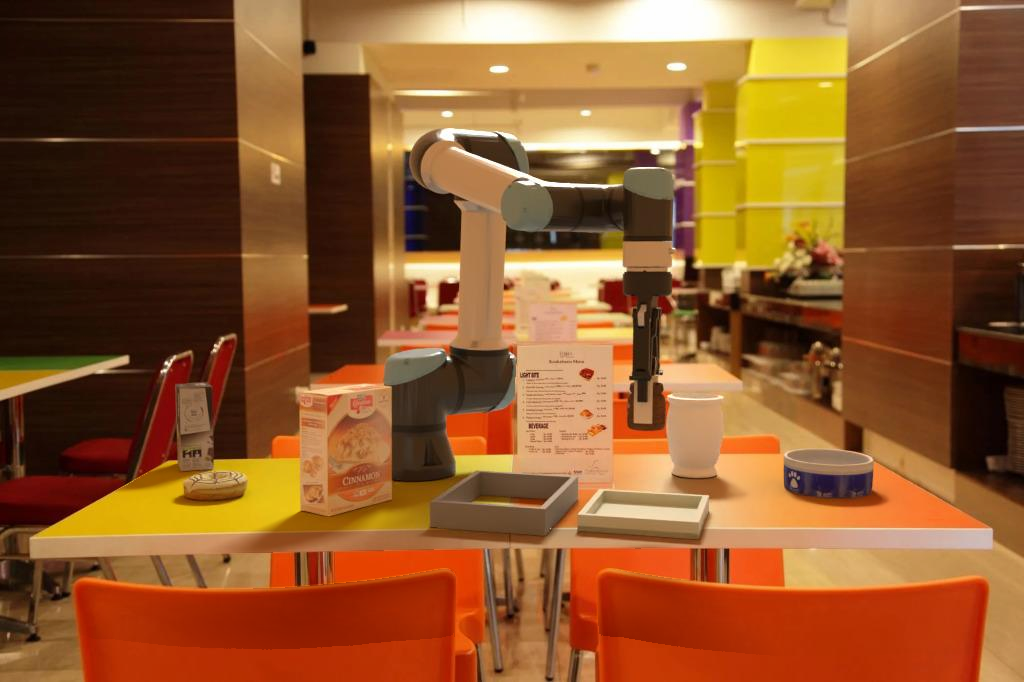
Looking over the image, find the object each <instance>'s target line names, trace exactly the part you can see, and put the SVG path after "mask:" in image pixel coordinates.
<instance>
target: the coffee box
mask: <svg viewBox="0 0 1024 682" xmlns="http://www.w3.org/2000/svg"><path fill="white" fill-rule="evenodd" d="M174 385H175V387H174V388H175V415H176V416H175V421H176V444H177V445H176V447H177V448H176V449H177V450H176V451H177V453H176V454H177V455H176V456H177V465H178V467H179V469H180V471H181V472H189V471H204V470H205V471H206V470H209V471H210V470H213V469H215V466H214V465H215V464H214V463H215V462H214V461H215V459H214V458H215V457H214V454H215V453H214V405H213V404H214V403H213V402H214V401H213V399H214V397H213V396H214V395H213V392H214V391H213V388H214V387H213V386H212V385H211V384H210V383H209V382H206V381H205V382H204V381H203V382H189V383H188V382H187V383H175V384H174Z"/></svg>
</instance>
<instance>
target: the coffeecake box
mask: <svg viewBox="0 0 1024 682" xmlns="http://www.w3.org/2000/svg"><path fill="white" fill-rule="evenodd" d="M298 396H299V405H298V406H299V484H300V486H299V489H300V490H299V491H300V492H299V494H300V496H299V498H300V499H299V501H300V503H299V504H300V511H301V512H302V511H303V512H308V513H311V514H315V515H320V516H324V517H333V516H336V515H339V514H340V515H341V514H343V513H346V512H351V511H355V510H358V509H363V508H366V507H370V506H375V505H377V504H381V503H384V502H388V501H389V502H390V501H392V500H393V480H392V387H390V386H384V384H383V385H382V384H373V383H372V384H371V383H361V384H353V385H343V386H338V387H337V386H336V387H327V388H322V389H313V390H306V391H299V392H298Z"/></svg>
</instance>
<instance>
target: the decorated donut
mask: <svg viewBox="0 0 1024 682" xmlns="http://www.w3.org/2000/svg"><path fill="white" fill-rule="evenodd" d="M182 485H183V495H184V497H185V498H186V499H190V500H197V501H203V502H204V501H210V502H211V501H215V500H216V501H224V500H230V499H236V498H240V497H242V495H244V493H245V492H246V491H247V488H248V486H249V482H248V478H247V476H246V475H245V474H244V473H241V472H238V471H235V470H213V471H205V472H201V473H196V474H194V475H192V476H190V477H188V478H186V479H184V481H183V483H182Z"/></svg>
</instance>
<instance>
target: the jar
mask: <svg viewBox="0 0 1024 682" xmlns="http://www.w3.org/2000/svg"><path fill="white" fill-rule="evenodd" d="M724 398H725V397H724V396H723V395H719V394H715V393H714V394H713V393H707V392H706V393H705V392H679V393H678V392H676V393H671V394H668V395H666V400H667V403H669V405H668V406H669V407H668V410H667V413H666V414H667V416H666V421H665V428H666V430H665V431H666V432H665V433H666V437H667V438H666V440H667V444H668V454H669V456H670V458H671V462H672V464H673V468H671V471H670V472H671V474H673V475H674V476H677V477H679V478H685V479H686V478H687V479H707V478H713V477H715V476H717V475H718V471H717V469H716V468H715V465H716V464H717V462H718V461H719V457H720V454H721V449H722V448H721V447H722V443H723V439H724V438H723V437H724V424H725V423H724V415H723V410H722V407H721V406H722V404H723V403H724V401H725V400H724Z"/></svg>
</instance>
